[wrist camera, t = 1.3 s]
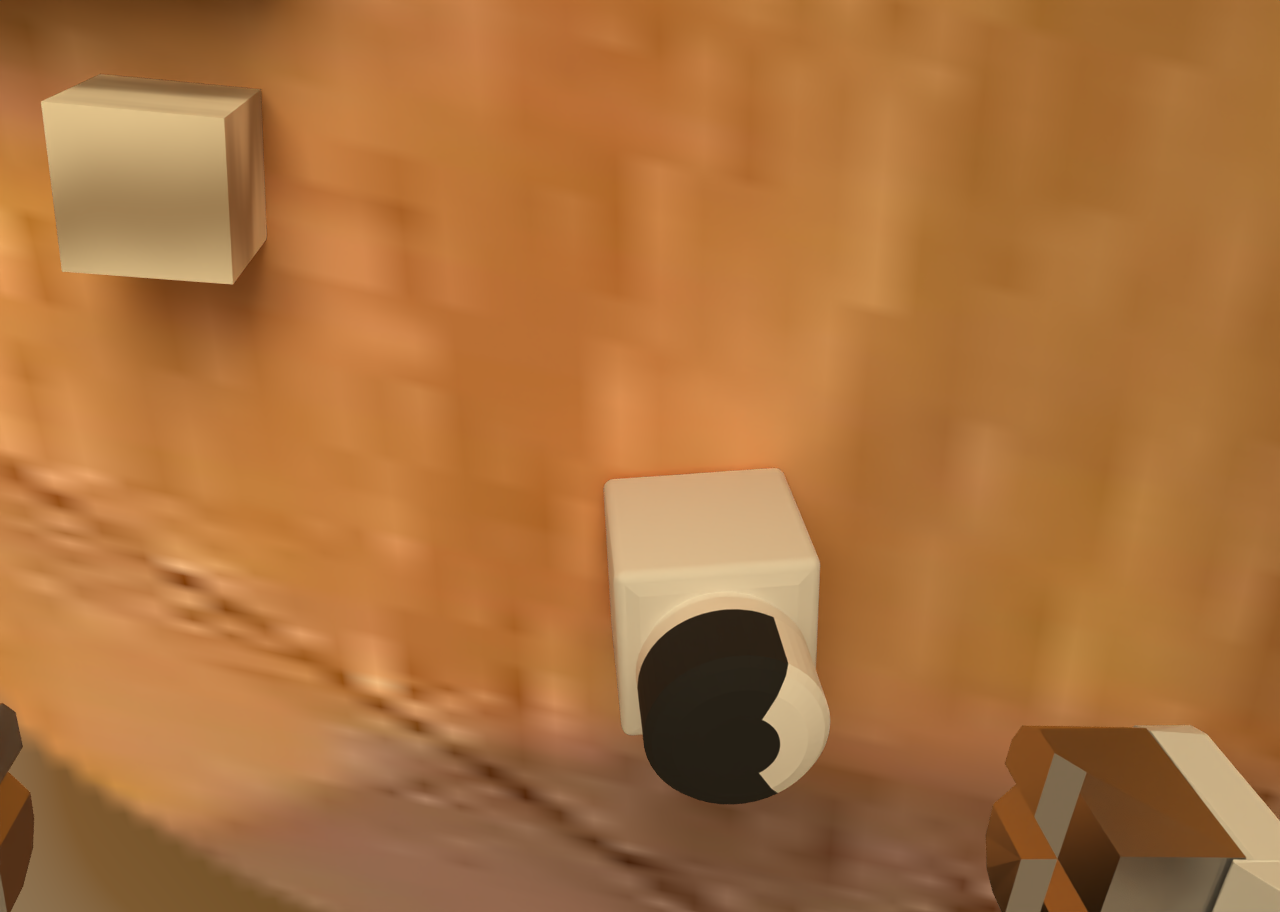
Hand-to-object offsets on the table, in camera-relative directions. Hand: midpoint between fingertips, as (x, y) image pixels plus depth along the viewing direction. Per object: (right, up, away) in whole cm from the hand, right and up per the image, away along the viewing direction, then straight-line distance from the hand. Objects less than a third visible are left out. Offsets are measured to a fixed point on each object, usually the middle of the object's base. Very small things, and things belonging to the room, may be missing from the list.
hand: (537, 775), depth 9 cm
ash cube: (-14, +13, +29) cm, 34 cm away
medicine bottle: (+3, -1, +37) cm, 37 cm away
